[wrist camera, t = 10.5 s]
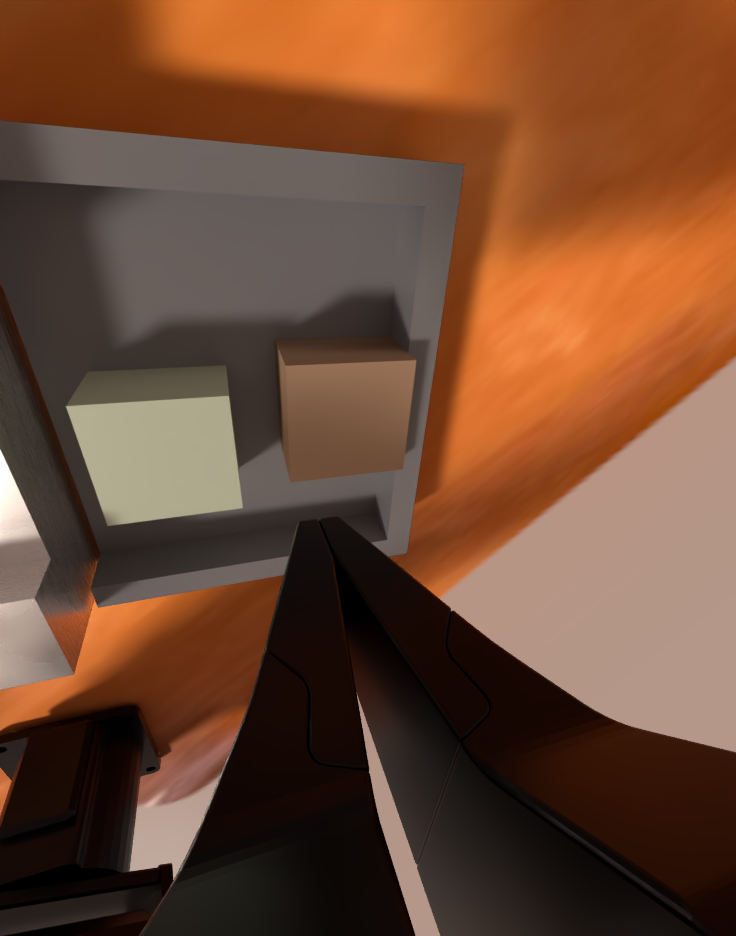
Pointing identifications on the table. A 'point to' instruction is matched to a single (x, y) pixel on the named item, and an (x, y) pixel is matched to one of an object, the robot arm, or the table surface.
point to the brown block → (343, 405)
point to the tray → (221, 314)
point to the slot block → (38, 531)
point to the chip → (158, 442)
